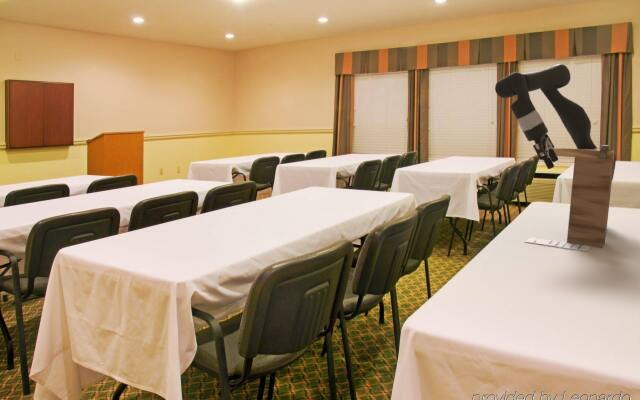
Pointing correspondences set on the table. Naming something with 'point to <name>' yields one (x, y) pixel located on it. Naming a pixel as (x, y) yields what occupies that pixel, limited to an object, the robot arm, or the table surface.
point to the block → (582, 153)
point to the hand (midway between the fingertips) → (553, 164)
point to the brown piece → (590, 199)
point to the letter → (558, 244)
